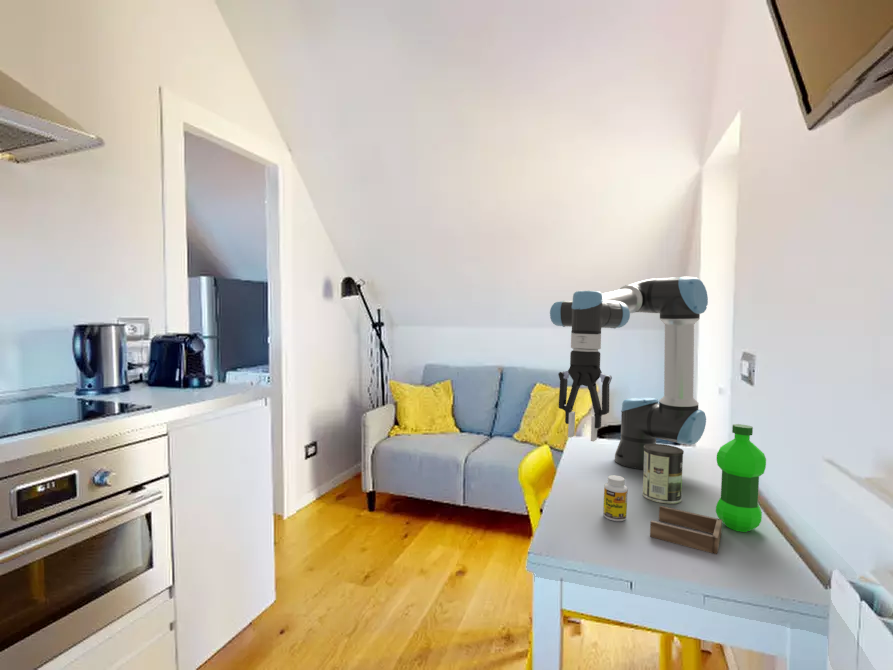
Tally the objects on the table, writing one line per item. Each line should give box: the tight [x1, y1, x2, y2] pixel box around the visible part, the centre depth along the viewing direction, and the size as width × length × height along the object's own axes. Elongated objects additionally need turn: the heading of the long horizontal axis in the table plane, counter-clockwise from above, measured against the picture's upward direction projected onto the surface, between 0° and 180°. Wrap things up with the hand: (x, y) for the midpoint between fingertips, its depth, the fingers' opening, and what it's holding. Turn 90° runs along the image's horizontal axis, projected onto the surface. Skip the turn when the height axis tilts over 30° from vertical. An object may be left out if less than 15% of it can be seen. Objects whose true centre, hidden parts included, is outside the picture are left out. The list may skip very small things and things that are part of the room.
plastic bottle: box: [715, 423, 767, 533], centre depth 115 cm, size 10×10×25 cm
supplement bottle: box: [602, 474, 629, 522], centre depth 119 cm, size 6×6×10 cm
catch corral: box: [649, 505, 723, 555], centre depth 110 cm, size 12×14×4 cm
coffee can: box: [642, 443, 685, 505], centre depth 134 cm, size 10×10×14 cm
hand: (582, 438), depth 124 cm, fingers open, 5 cm apart
